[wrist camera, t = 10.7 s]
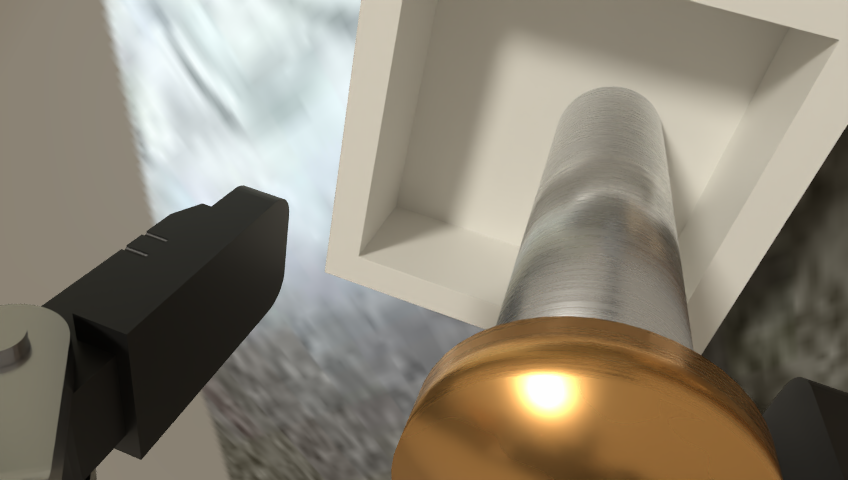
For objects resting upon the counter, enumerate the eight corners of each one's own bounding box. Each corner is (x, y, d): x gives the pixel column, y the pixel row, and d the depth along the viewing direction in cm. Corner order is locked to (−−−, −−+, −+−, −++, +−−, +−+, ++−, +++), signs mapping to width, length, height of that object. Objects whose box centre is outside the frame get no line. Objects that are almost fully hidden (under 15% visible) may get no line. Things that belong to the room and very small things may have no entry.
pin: (559, 42, 17) (432, 317, 6) (717, 86, 16) (897, 483, 5) (515, 179, 19) (367, 552, 8) (651, 222, 18) (682, 685, 8)
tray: (434, -130, 16) (379, -135, 13) (854, -26, 15) (925, 1, 11) (373, 211, 22) (324, 271, 19) (666, 309, 21) (674, 396, 17)
